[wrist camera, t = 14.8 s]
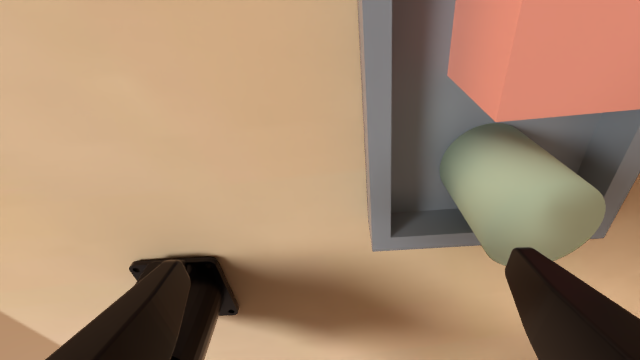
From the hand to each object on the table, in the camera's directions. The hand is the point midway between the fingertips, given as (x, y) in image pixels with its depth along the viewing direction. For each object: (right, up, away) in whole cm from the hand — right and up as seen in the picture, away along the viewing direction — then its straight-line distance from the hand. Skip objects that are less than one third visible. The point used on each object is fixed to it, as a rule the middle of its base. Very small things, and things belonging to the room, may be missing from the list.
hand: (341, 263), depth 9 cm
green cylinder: (+8, +3, +8) cm, 11 cm away
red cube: (+7, +9, +4) cm, 12 cm away
